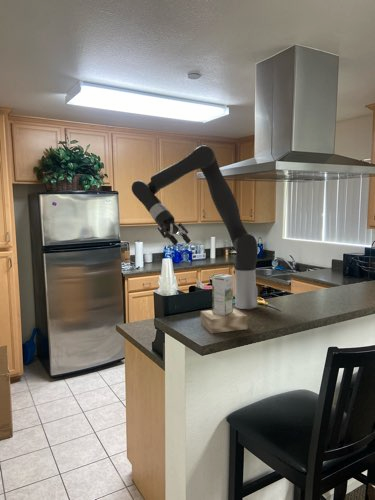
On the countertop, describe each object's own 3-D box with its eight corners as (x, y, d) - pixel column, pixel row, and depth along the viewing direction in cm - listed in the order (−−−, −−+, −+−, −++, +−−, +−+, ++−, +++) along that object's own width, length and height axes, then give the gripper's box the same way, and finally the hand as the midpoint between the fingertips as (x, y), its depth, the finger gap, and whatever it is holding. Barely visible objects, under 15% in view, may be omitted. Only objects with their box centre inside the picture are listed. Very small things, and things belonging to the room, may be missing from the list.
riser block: (234, 320, 144) (234, 307, 144) (247, 328, 133) (247, 315, 132) (200, 323, 140) (200, 311, 140) (211, 333, 129) (211, 319, 128)
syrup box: (220, 310, 140) (220, 273, 139) (233, 312, 136) (233, 274, 135) (212, 313, 136) (211, 275, 134) (225, 316, 132) (224, 276, 131)
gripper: (154, 209, 149) (176, 237, 144) (176, 209, 161) (198, 235, 155) (146, 222, 153) (167, 250, 147) (168, 221, 164) (188, 247, 158)
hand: (182, 243), depth 151 cm, fingers open, 8 cm apart
